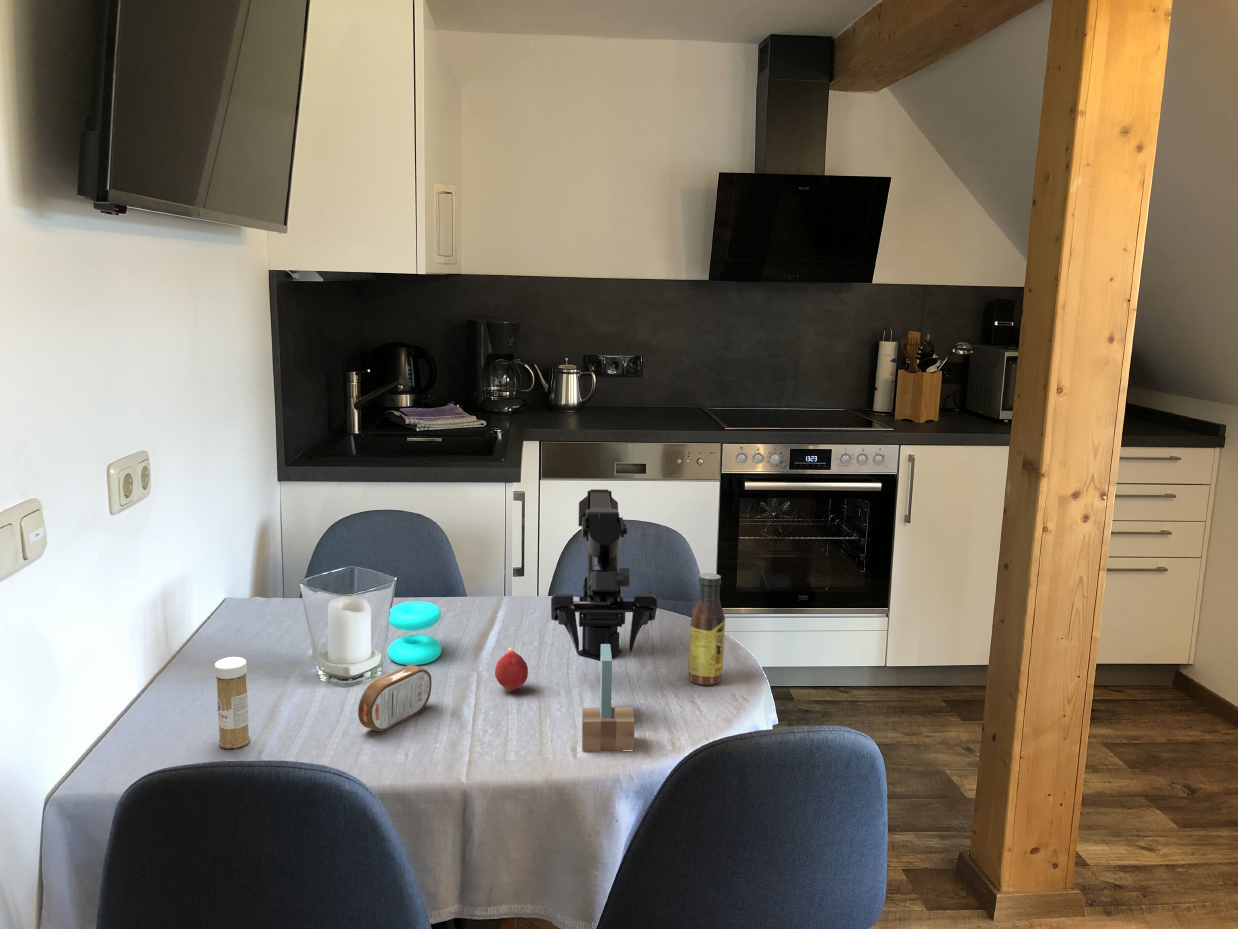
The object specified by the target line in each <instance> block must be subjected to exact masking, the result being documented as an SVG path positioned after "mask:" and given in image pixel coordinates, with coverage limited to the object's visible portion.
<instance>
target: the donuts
mask: <svg viewBox="0 0 1238 929" xmlns="http://www.w3.org/2000/svg"><path fill="white" fill-rule="evenodd" d="M389 610H390V616H389V621H388V622H389V625H391V626H393V627H394V628H395V629H398V630H400V631H406V632H418V631H424V630H427V629H430V628H432V627H434V626H435V625H437V624H438V623H439V621H440V619H441V617H442V616H441V615H442V613H441V610H440V608H439V607H438V606H437V605H436V604H433V603H431V602H426V601H407V602H402V603H399V604H397V605H394V606H393V607H391V608H390V609H389ZM387 652H388V657H389V658H390V660H391V661H393V662H394V663H396V664H399V665H405V666H407V665H411V664H413V665H417V666H419V665H425V664H429V663H430V662H433V661H435V660H437V659H438V658H439V656H440V655H441V653H442V646H441V643H440V642H439V641H438V640H437V639H436V638H434V637H432V636H430V635H424V634H408V635H405V636H401V637H399V638H397V639H394V640H393V642H392V643H391V644H389V647H388V650H387Z"/></svg>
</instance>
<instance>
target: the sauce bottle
mask: <svg viewBox="0 0 1238 929" xmlns="http://www.w3.org/2000/svg"><path fill="white" fill-rule="evenodd" d="M698 584H699V589H698V590H699V591H698V600H697V602H696V603H695V605H694V606H693V607H692V610H691V615H690V616H691V619H690V626H689V627H690V628H689V645H688V646H689V650H688V652H689V653H688V665H687V666H688V678H689V682H690V681H691V682H692V683H694V684H696V685H700V686H712V685H716V684H718V683H720V682H721V679H722V673H723V664H724V662H723V661H724V644H725V630H726V629H725V628H726V627H725V626H726V617H725V614H724V610H723V607H722V604H721V600H720V598H721V597H720V592H721V588H720V587H721V584H722V576H721V575H719V574H717V573H712V572H704V573H700V574H699V575H698Z"/></svg>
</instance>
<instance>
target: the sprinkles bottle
mask: <svg viewBox="0 0 1238 929" xmlns="http://www.w3.org/2000/svg"><path fill="white" fill-rule="evenodd" d="M247 665H248V664H247V660H246V659H245V658H243V657H238V656H230V657H225V658H222V659H221V658H220V659H219V660H217V661H216V662H215V664H214V675H215V678H216V688H217V689H216V691H217V696H216V697H217V699H216V700H217V719H218V721H217V722H218V728H219V729H218V732H219V740H218V744H219V746H220V748H223V749H226V748H227V749H229V750H231V749H230V748H234V749H239V748H242V747H243V746H246V745H248V744H249V742H250V740H251V739H250V736H249V733H250V732H249V704H248V688H247V687H248V686H247V671H248V668H247ZM241 746H242V747H241Z"/></svg>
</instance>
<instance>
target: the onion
mask: <svg viewBox="0 0 1238 929" xmlns="http://www.w3.org/2000/svg"><path fill="white" fill-rule="evenodd" d="M507 649H508V650H507V653H505V654H504V655H503V656H501V657H500V658H499V659H498V661H497V662H496V665H495V668H494V669H495V670H494V677H495V679H496V681H497V682H498V684H499V685H500V686H502V687H503V688H504V689H505V690H506V691H508V692H514V691H516V690H518V689H519V688H520V687H521V686H522V685H524V684H525V683H526V681H527V679H528V675H529V668H528V664H527V662H526V661H525V660H524V658H523V656H521V655H520V654H518V653H517V652H515V651H514V650H513V648H511V647H508V648H507Z"/></svg>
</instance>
